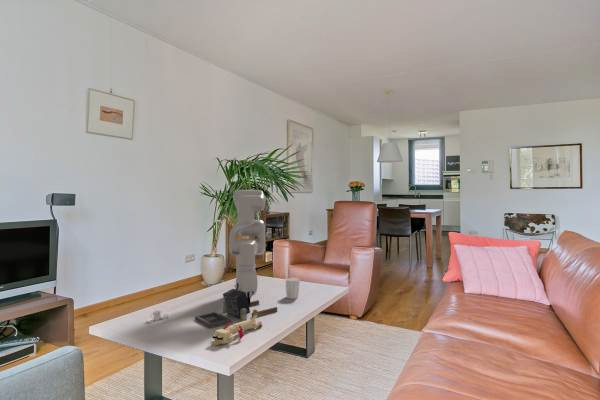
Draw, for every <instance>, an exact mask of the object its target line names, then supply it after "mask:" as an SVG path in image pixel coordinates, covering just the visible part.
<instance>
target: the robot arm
mask: <svg viewBox="0 0 600 400" xmlns="http://www.w3.org/2000/svg"><path fill="white" fill-rule="evenodd" d="M232 199H233V204H234V206H235V209H236V212H237V222H236V223H235V225H233V227H232V228H231V230H230V232H229V235H228V236H229V237H228V250H229V253H230V255H232V256H235V263H236V265H235V266H236V271H235V272H236V273H235V274H236V278H235V284H234V289H235V290H237V291H243V292H246V296H247V300H248V304H249V308H250V307H251V306H250V302H251V299H252V296H253V295H255V294H256V293H257V292H258V273H257V270H256V267H258V265H257V264H256V256H262V255H264V254H265V252H266V224H265V222H264V221H263V220H262V219H255V211H256V212H260V211H261V212H263V211H264V210H265V207H266V197H265V194H264V192H263V190H261V189H236V190H234V191H233V193H232ZM237 234H238V236H241V237H257V238H239V239H235V238H236V235H237Z"/></svg>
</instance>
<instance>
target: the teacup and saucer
mask: <svg viewBox="0 0 600 400" xmlns="http://www.w3.org/2000/svg"><path fill="white" fill-rule="evenodd" d="M161 313H162V312H161V310H154V311H153V312H151V313H150V315H149V316H150V317H149V318H148V319H147V322H148V323H153V324H155V323H157V324H158V323H162V322H165V321H166V320H167V319H168V318H169V316H170V315H169V313H164V314H162V315H161ZM152 316H153V317H152ZM160 319H161V320H160ZM151 320H153V321H151Z"/></svg>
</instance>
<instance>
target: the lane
mask: <svg viewBox="0 0 600 400" xmlns="http://www.w3.org/2000/svg"><path fill="white" fill-rule="evenodd" d="M258 305H260V300H259V299H257V300H252V301H250V307H255V306H258ZM222 307H223V309H222V311H223V312H222V313H227V309H226V305H225V301H224V300H223V303H222ZM257 311H258V316H257V318H258V317H259V318H260V317H262V316H265V315H270V314H273V313H277V312H278V307H277V306H275V307H270V308H267V309H266V308H265V309H262V310H257ZM247 315H248V314H247V309H245V308H242V309H240V318H239V319H240V322H242V321H247ZM253 316H254V313H253V312H252V313H251V317H252V318H253ZM252 318H251V319H252Z"/></svg>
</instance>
